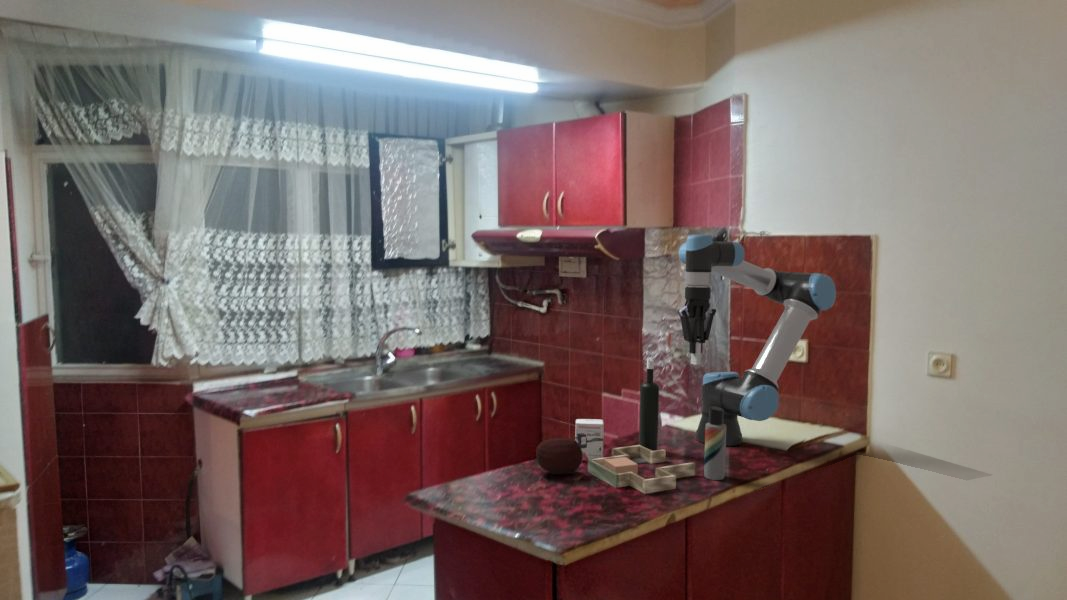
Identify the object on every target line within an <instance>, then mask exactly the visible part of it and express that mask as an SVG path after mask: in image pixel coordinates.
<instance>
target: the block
mask: <svg viewBox="0 0 1067 600" xmlns="http://www.w3.org/2000/svg"><path fill="white" fill-rule="evenodd" d="M604 467H606V468H608V469H610V470H611V471H613V472H615V473H617V474H618V473H625V472H633V473H635V474H637V475H639V474H638V471H639V469H638V468H639V464H637V463H635V462H633V461H631V460H630V459H628V458H626V457H623V458H613V459H604Z"/></svg>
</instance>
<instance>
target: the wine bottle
mask: <svg viewBox="0 0 1067 600" xmlns="http://www.w3.org/2000/svg"><path fill="white" fill-rule="evenodd" d="M654 369H655V359H654V357H646V381H645V382H643V383H641V385H640V389H639V392H640V395H639V425H638V426H639V428H638V431H639V432H638V433H639V434H638V445H641V446H643V447H645V448H648V449H650V450H652V451H655V450H658V441H659V440H658V439H659V436H658V435H659V434H658V433H659V403H660V402H659V401H660V400H659V399H660V398H659V397H660V387H659V384H657V383H656V382H654Z"/></svg>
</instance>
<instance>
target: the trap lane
mask: <svg viewBox="0 0 1067 600" xmlns="http://www.w3.org/2000/svg"><path fill="white" fill-rule="evenodd" d="M666 453H667V452H666V449H657V450H655V451H652V450H650V449H648V448H645V447H643V446H641V445H639V444H636V445H628V446H620V447H612V448H611V456H606V457H605V456H603V458H597V459H590V460H588V461H587V472H588V473H589V474H590V475H592V476H594V477H596V478H597V479H600V480H601V481H603V482H605V483H606V484H608V485H610V486H612V487H613V488H614V489H617V488H618V489H619V488H623V487H632V488H634V489H635V490H637V491H639V492H641V493H643V494H644V495H647V494H652V493H653V494H654V493H657V492H665V491H669V490H674V489H677V488H676V487H677V479H680V478H685V477H686V478H687V477H692V476H693V477H694V476H696V463H695V462H694V461H693V462H686V463H680V464H673V465H666V466H660V467H655V471H654V475H655V476H654V477H652V478H651V477H650V478H644V477H643V476H641V475H639V474H638V475H637V474H635V473H633V472H625V473H618V474H617V473H615V472H613V471H611V470H610V469H608V468H606V467H604V459H613V458H623V457H626V458H628V459H630V460H631V461H633V462H635V463H637V464H638V465H639V464H641V465H642V464H647V463H650V464H658V463H664V462H666V459H667V457H666Z"/></svg>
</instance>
